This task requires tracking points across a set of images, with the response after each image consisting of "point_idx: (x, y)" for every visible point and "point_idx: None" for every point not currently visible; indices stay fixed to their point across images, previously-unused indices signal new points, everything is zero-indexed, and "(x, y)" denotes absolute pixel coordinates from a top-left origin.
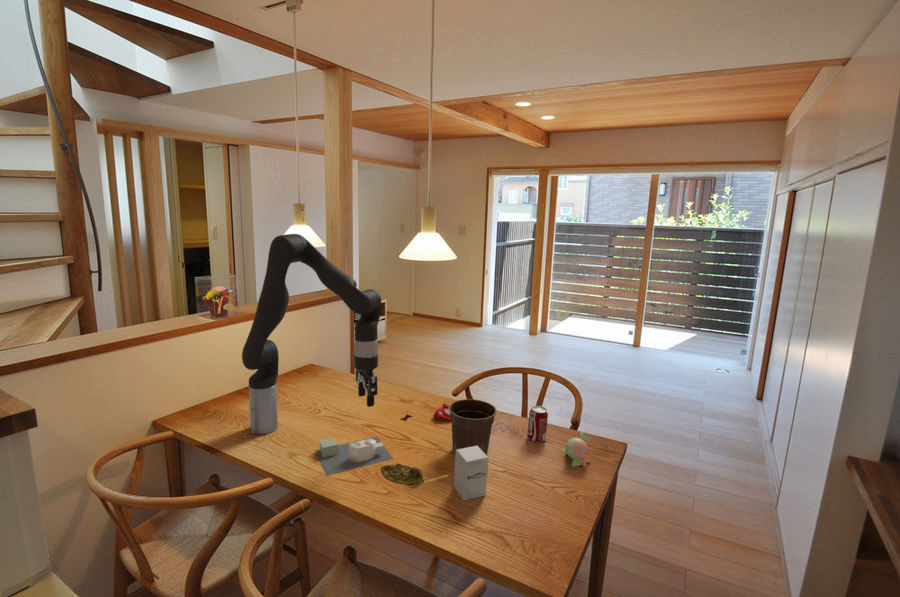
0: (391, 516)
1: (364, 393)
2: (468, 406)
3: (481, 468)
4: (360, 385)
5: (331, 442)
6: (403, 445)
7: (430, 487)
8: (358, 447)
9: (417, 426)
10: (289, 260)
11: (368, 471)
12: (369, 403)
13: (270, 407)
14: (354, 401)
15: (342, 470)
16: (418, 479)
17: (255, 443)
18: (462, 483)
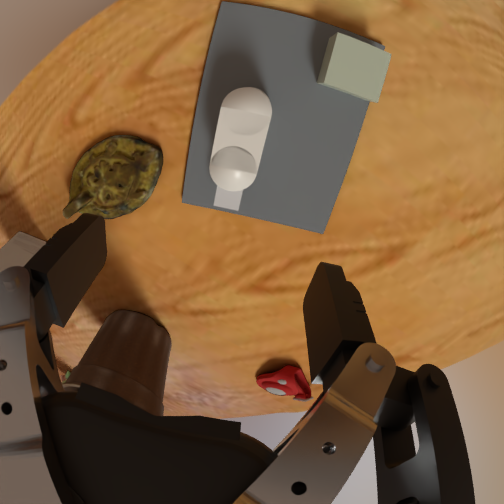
0: (21, 99)
1: (305, 311)
2: None
3: None
4: (339, 356)
5: (352, 72)
6: (237, 262)
7: (58, 208)
8: (223, 113)
9: (294, 331)
10: None
11: (173, 113)
12: (56, 233)
13: None
14: (486, 288)
15: (216, 46)
16: (70, 200)
17: (496, 2)
18: (7, 249)
